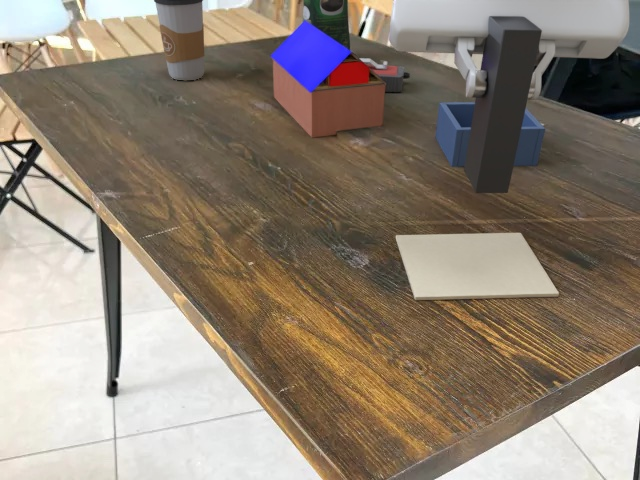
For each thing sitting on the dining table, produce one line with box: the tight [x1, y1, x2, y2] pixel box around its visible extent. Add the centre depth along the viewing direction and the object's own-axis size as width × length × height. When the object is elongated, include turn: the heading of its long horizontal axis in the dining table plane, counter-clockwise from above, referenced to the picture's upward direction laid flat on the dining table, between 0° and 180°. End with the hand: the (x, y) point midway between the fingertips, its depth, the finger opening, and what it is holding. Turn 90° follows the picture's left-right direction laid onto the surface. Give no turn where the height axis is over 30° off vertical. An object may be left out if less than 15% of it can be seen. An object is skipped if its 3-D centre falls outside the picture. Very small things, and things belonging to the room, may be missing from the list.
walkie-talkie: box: [358, 57, 411, 93], centre depth 115 cm, size 9×4×20 cm
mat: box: [395, 232, 560, 301], centre depth 67 cm, size 14×12×1 cm
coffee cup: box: [153, 0, 205, 81], centre depth 114 cm, size 8×8×15 cm
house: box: [270, 21, 386, 138], centre depth 100 cm, size 12×20×12 cm, turn 20°
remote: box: [463, 16, 542, 194], centre depth 57 cm, size 3×5×14 cm, turn 2°
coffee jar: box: [302, 0, 351, 51], centre depth 123 cm, size 10×8×19 cm
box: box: [435, 101, 546, 168], centre depth 89 cm, size 12×11×6 cm
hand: (503, 95), depth 56 cm, fingers closed on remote, 3 cm apart
